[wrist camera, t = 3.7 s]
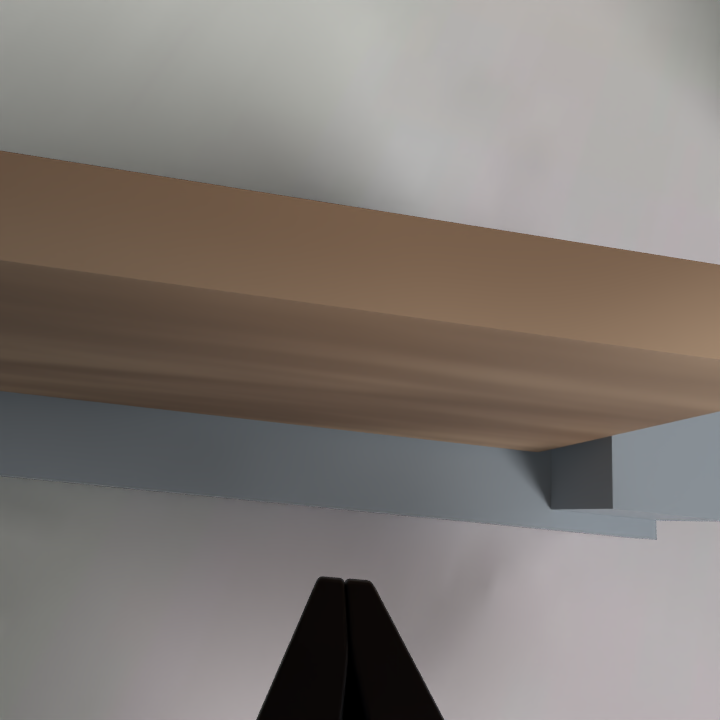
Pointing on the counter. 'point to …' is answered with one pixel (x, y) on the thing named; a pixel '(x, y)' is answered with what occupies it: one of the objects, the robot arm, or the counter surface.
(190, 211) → the gate leaf
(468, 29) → the counter surface
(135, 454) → the gate frame
